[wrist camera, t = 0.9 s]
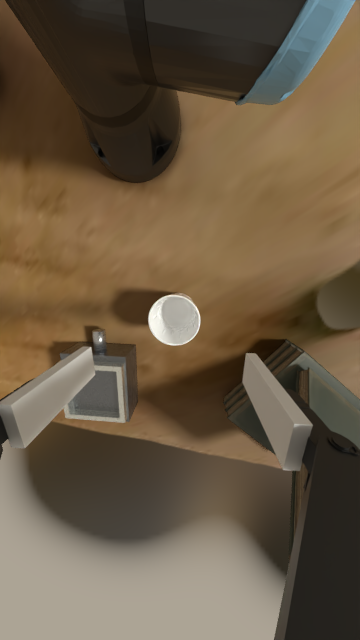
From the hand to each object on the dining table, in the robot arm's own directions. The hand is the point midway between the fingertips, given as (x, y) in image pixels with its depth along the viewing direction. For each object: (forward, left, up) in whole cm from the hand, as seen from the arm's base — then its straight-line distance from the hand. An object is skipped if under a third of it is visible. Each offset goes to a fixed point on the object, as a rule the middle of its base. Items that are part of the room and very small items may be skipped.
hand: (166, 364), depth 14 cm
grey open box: (+13, -17, -21) cm, 30 cm away
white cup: (-1, -1, -22) cm, 22 cm away
